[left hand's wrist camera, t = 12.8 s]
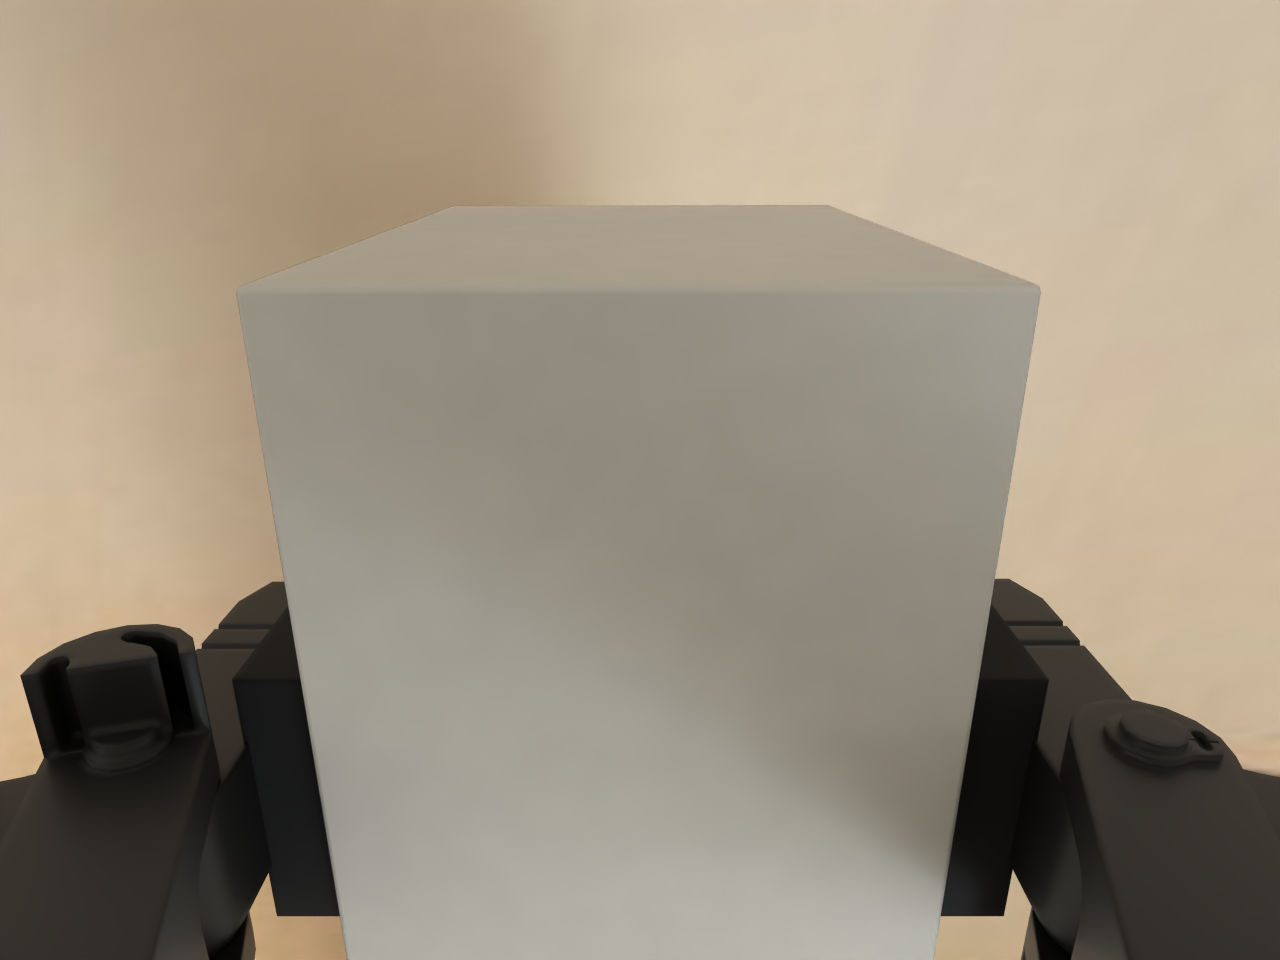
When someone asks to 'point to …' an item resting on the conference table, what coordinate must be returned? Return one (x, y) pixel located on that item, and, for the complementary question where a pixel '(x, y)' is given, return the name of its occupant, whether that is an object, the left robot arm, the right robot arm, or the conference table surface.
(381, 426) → the beam
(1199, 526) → the conference table surface
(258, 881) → the left robot arm
